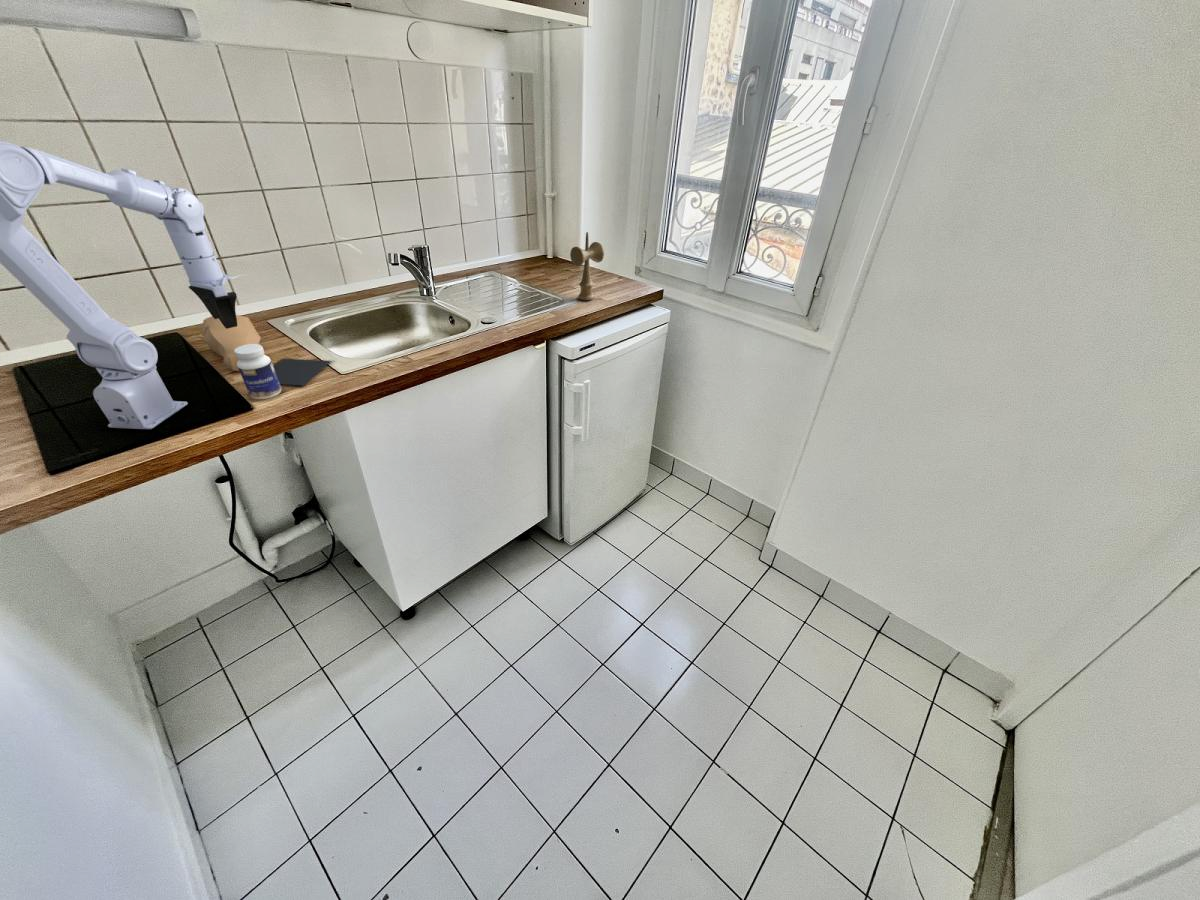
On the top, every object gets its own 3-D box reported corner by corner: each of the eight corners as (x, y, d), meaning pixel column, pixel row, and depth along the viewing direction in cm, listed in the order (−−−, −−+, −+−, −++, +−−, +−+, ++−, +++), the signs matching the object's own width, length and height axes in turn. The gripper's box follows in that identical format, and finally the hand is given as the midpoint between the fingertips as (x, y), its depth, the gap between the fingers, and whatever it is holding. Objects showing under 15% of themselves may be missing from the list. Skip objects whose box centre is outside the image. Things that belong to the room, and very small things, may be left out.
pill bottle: (252, 403, 96) (231, 356, 91) (248, 391, 100) (229, 346, 94) (284, 395, 99) (267, 350, 94) (280, 384, 103) (262, 340, 97)
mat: (302, 386, 102) (301, 385, 102) (250, 384, 103) (250, 382, 102) (330, 362, 112) (329, 360, 112) (283, 360, 112) (282, 358, 112)
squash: (256, 338, 122) (251, 304, 117) (274, 377, 111) (269, 341, 106) (202, 341, 116) (194, 305, 111) (216, 383, 105) (207, 344, 100)
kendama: (603, 298, 156) (605, 231, 145) (581, 304, 150) (582, 235, 139) (590, 293, 159) (591, 228, 148) (568, 299, 154) (568, 232, 142)
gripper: (232, 259, 94) (258, 326, 102) (209, 246, 102) (235, 309, 110) (189, 265, 90) (219, 335, 98) (168, 251, 98) (198, 316, 106)
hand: (225, 322), depth 104 cm, fingers open, 7 cm apart
